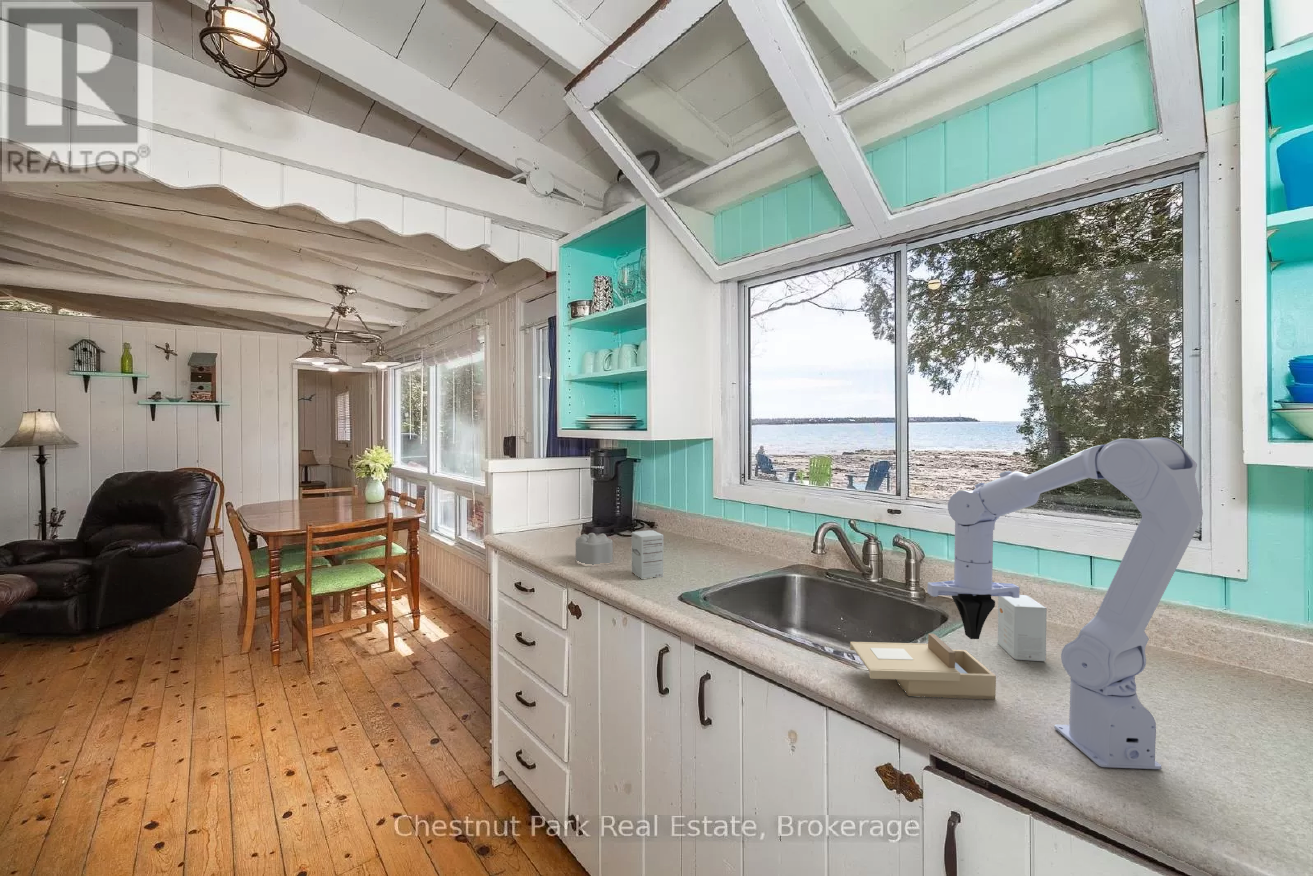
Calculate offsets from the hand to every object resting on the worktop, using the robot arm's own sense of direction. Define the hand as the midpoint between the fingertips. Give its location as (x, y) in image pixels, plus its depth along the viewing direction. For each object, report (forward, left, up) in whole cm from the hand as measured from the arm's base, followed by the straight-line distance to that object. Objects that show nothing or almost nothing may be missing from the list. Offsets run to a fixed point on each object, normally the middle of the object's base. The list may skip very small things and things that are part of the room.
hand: (972, 637), depth 95 cm
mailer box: (0, +6, -8) cm, 10 cm away
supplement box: (+62, +62, -9) cm, 88 cm away
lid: (0, +12, -5) cm, 13 cm away
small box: (+14, -16, -9) cm, 23 cm away
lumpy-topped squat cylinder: (+77, +81, -9) cm, 112 cm away
